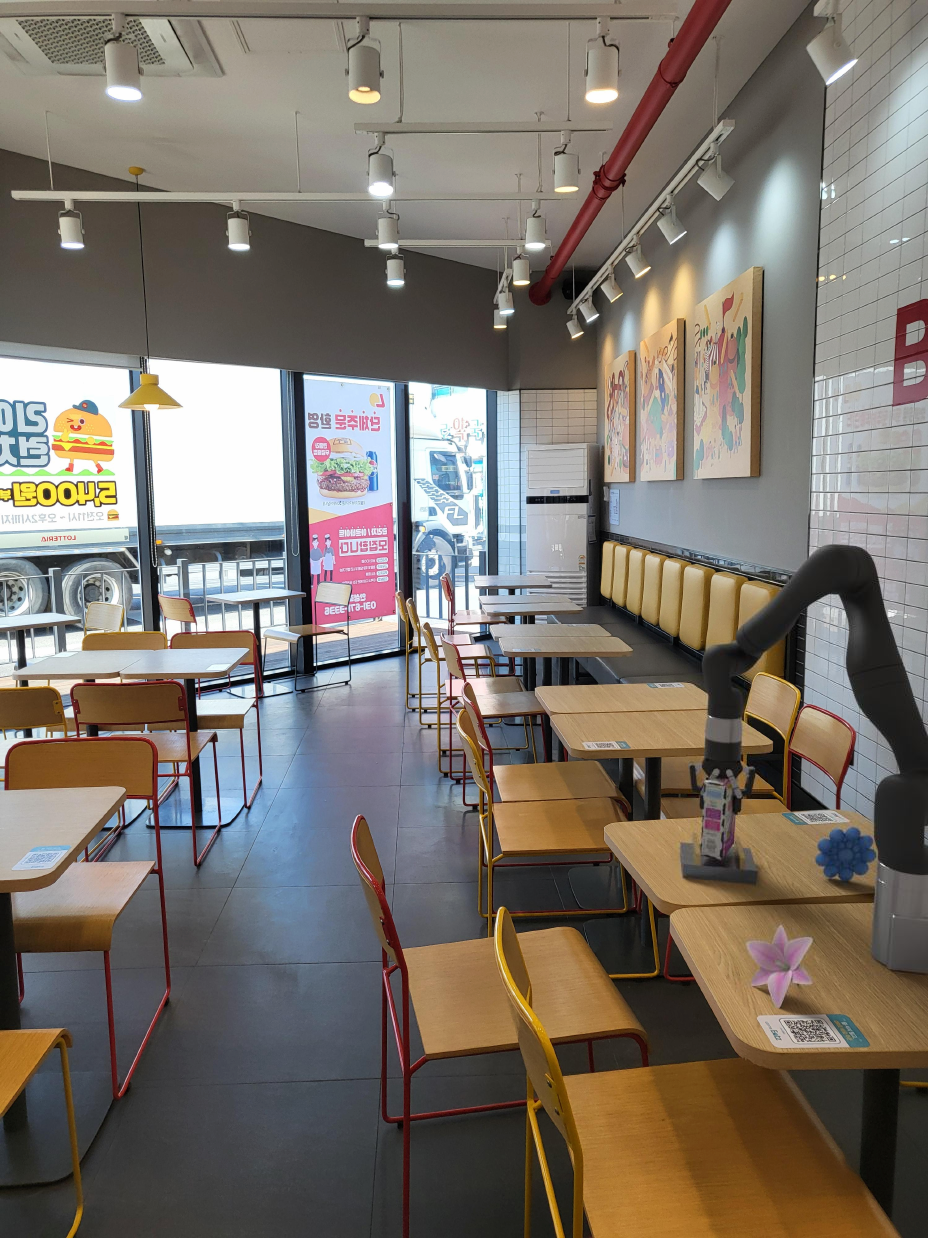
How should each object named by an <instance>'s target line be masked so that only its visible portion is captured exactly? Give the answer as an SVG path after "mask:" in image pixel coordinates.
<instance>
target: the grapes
mask: <svg viewBox="0 0 928 1238" xmlns="http://www.w3.org/2000/svg"><path fill="white" fill-rule="evenodd" d="M828 838H829V839H828ZM828 838H822V839H820V840H819V841H818V843H817V845H816V846H817V850H818V851H819V853H817V855H816V856H815V858H814V862H815V864H816V865H817V866H819V867H823V870H822V872H823V875H824V876H825V877H826V878H828V879H832V878H835V877H838V879H839V880H840V881H843V882H849V881H852V879H853V877H854V876H856V875H857V876H860V877H862V876H863V875H867V874H868V871H869V869H870V868H869V867H870V865H869V863H873V862H874V861H875V860H876V858H878V853H877V852H876V850H875V849H874V848H873V849H872V846H873V845H874V837H872V836H871V835H869V834H862V832H861V830H860V829H859V828H858V827H855V826H850V827H849V828H847V829H846V830H845V832H844V830H843V829H840V828H835V829H832V830H831V831H830V832H829V834H828Z"/></svg>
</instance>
